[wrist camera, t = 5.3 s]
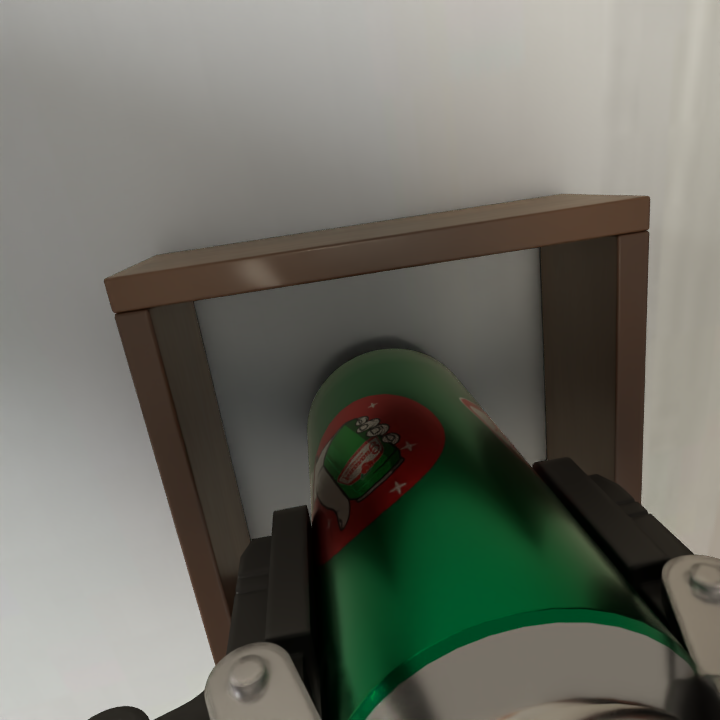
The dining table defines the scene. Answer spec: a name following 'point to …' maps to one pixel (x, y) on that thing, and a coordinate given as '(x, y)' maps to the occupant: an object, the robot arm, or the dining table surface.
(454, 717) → the soda can
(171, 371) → the crate
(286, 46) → the dining table surface
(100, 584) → the dining table surface
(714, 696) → the robot arm
